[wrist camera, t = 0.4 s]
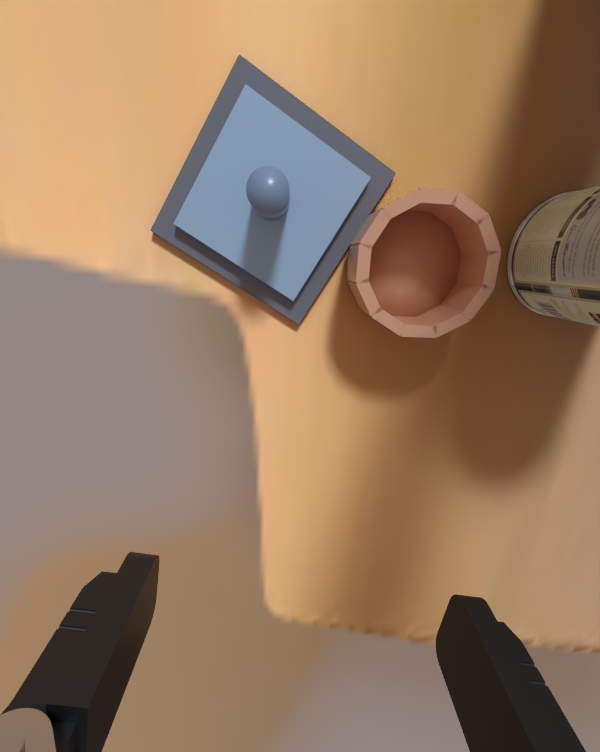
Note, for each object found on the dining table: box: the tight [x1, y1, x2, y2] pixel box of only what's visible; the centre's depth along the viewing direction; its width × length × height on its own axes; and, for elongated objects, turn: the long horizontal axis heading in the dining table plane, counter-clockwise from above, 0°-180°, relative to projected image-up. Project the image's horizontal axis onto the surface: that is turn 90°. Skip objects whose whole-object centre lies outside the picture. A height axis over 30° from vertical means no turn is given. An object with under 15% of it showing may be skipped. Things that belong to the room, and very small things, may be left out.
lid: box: [173, 84, 371, 301], centre depth 28 cm, size 11×11×6 cm
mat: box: [150, 55, 396, 325], centre depth 31 cm, size 14×14×1 cm
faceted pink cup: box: [347, 188, 501, 338], centre depth 30 cm, size 10×10×6 cm
